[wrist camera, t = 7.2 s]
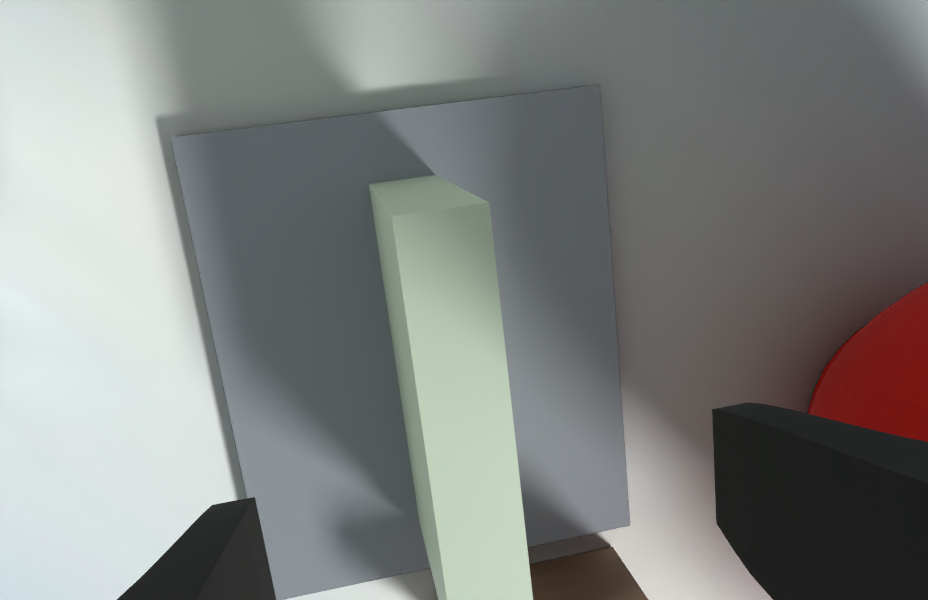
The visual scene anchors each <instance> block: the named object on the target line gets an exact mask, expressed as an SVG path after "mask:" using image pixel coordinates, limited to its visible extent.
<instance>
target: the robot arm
mask: <svg viewBox="0 0 928 600" xmlns="http://www.w3.org/2000/svg"><path fill="white" fill-rule="evenodd" d="M712 415H713V442H714V468H715V495H716V521H717V525H718V526H719V528H720V529H721V531H722V533H723V534H724V536H725V537H726V539H727V540H728V542H729V543H730V545H731V546H732V548H733V550H734V551H735V552H736V554H737V555H738V557H739V558H740V560H741V561H742V562H743V564H744V565H745V567H746V568H747V570H748V571H749V572H750V574H751V575H752V576H753V577H754V578H755V580H756V581H757V582H758V583H759V584H760V585H761V586H762V588H763V589H764V590H765V591H766V592H767V593H768V594H769V595H770V596H771V598H772V599H773V600H928V442H926V441H921V440H916V439H911V438H907V437H902V436H898V435H894V434H889V433H885V432H881V431H876V430H872V429H868V428H864V427H860V426H856V425H852V424H848V423H844V422H840V421H836V420H832V419H827V418H823V417H819V416H815V415H811V414H807V413H803V412H799V411H794V410H790V409H785V408H781V407H776V406H770V405H764V404H756V403H743V404H738V405H733V406H728V407H723V408H717V409H712ZM117 600H276V596H275V591H274V586H273V581H272V576H271V572H270V567H269V562H268V557H267V553H266V548H265V543H264V538H263V533H262V529H261V524H260V519H259V514H258V510H257V505H256V500H255V497H252V498H247V499H242V500H237V501H231V502H226V503H221V504H216V505H212V506H211V507H210V508H209V509H207V510H206V511H205V512H204V513H203V514H202V515H201V516H200V517H199V518H198V519H197V520H196V521H195V522H194V523H193V524H192V525H191V526H190V527H189V529H188V530H187V531H186V532H185V533H184V534H183V535H182V536H181V537H180V538H179V539H178V540H177V541H176V542H175V543H174V544H173V545H172V546H171V547H170V548H169V549H168V550H167V551H166V552H165V553H164V555H163V556H162V557H161V558H160V559H159V560H158V561H157V562H156V563H155V564H154V565H153V566H152V567H151V568H150V569H149V570H148V571H147V572H146V573H145V574H144V575H143V576H142V577H141V578H140V579H139V580H138V581H137V582H136V583H134V584H133V585H132V586H131V587H130V588H129V589H128V590H127V591H126V592H125V593H124V594H123V595H122V596H120V597H119V598H118V599H117Z"/></svg>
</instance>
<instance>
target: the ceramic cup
mask: <svg viewBox="0 0 928 600" xmlns="http://www.w3.org/2000/svg"><path fill="white" fill-rule="evenodd" d="M808 414H811V415H815V416H819V417H823V418H827V419H832V420H836V421H840V422H844V423H848V424H852V425H856V426H860V427H864V428H868V429H872V430H876V431H881V432H885V433H889V434H894V435H898V436H902V437H907V438H911V439H916V440H921V441H926V442H928V283H926V284H924V285H922V286H920V287H918V288H917V289H915V290H913V291H911V292H910V293H908V294H907V295H905V296H904V297H902V298H901V299H900V300H898V301H897V302H895V303H894V304H892V305H891V306H889V307H888V308H887V309H885V310H884V311H882V312H881V313H879V314H878V315H877V316H875V317H874V318H873V319H872V320H871V321H870V322H869V323H868V324H867V325H866V326H865V327H863V328H862V329H860V330H859V331H857V332H856V333H855V334H854V335H853V336H852V337H851V338H850V339H849V340H848V341H847V342H846V343H845V344H843V345H842V346H841V347H840V348H839V350H838V351H837V352H836V354H835V355H834V356H833V358H832V359H831V360H830V362H829V363H828V364H827V366H826V367H825V369H824V371H823V373H822V375H821V377H820V379H819V381H818V383H817V385H816V387H815V390H814V393H813V396H812V399H811V402H810V406H809V410H808Z"/></svg>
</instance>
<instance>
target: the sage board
mask: <svg viewBox="0 0 928 600" xmlns="http://www.w3.org/2000/svg"><path fill="white" fill-rule="evenodd" d="M369 190H370V197H371V203H372V210H373V217H374V223H375V230H376V236H377V243H378V250H379V256H380V263H381V270H382V276H383V283H384V290H385V296H386V303H387V310H388V316H389V323H390V330H391V336H392V343H393V349H394V356H395V363H396V369H397V376H398V383H399V389H400V396H401V403H402V409H403V416H404V423H405V429H406V436H407V443H408V449H409V456H410V463H411V469H412V476H413V482H414V489H415V496H416V502H417V509H418V516H419V522H420V527H421V531H422V535H423V539H424V543H425V547H426V551H427V555H428V560H429V564H430V568H431V572H432V576H433V580H434V584H435V588H436V592H437V596H438V600H533V594H532V585H531V576H530V567H529V558H528V549H527V539H526V530H525V521H524V512H523V503H522V494H521V485H520V476H519V467H518V458H517V449H516V440H515V431H514V422H513V413H512V404H511V395H510V386H509V377H508V367H507V358H506V349H505V340H504V331H503V322H502V313H501V304H500V295H499V286H498V277H497V268H496V259H495V250H494V241H493V232H492V223H491V214H490V205H489V202H487V201H485V200H483V199H482V198H480V197H478V196H476V195H474V194H472V193H470V192H468V191H466V190H464V189H462V188H460V187H458V186H456V185H454V184H452V183H450V182H448V181H446V180H444V179H442V178H440V177H438V176H437V175H432V176H425V177H417V178H410V179H403V180H396V181H388V182H381V183H374V184H369Z"/></svg>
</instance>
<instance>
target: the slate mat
mask: <svg viewBox="0 0 928 600" xmlns="http://www.w3.org/2000/svg"><path fill="white" fill-rule="evenodd" d="M170 138H171V142H172V147H173V152H174V157H175V161H176V166H177V171H178V175H179V180H180V185H181V189H182V194H183V199H184V204H185V208H186V213H187V218H188V222H189V227H190V232H191V236H192V241H193V246H194V251H195V255H196V260H197V265H198V269H199V274H200V279H201V284H202V288H203V293H204V298H205V302H206V307H207V312H208V316H209V321H210V326H211V331H212V335H213V340H214V345H215V349H216V354H217V359H218V363H219V368H220V373H221V378H222V382H223V387H224V392H225V396H226V401H227V406H228V410H229V415H230V420H231V425H232V429H233V434H234V439H235V443H236V448H237V453H238V457H239V462H240V467H241V472H242V476H243V481H244V486H245V490H246V495H247V498H252V497H255V500H256V505H257V510H258V514H259V519H260V524H261V529H262V533H263V538H264V543H265V548H266V553H267V557H268V562H269V567H270V572H271V576H272V581H273V586H274V591H275V596H276V600H283V599H288V598H293V597H297V596H302V595H307V594H311V593H316V592H321V591H325V590H330V589H335V588H340V587H344V586H349V585H354V584H358V583H363V582H368V581H372V580H377V579H382V578H386V577H391V576H396V575H400V574H405V573H410V572H414V571H419V570H424V569H428V568H430V564H429V560H428V555H427V551H426V547H425V543H424V539H423V535H422V531H421V527H420V522H419V516H418V509H417V502H416V496H415V489H414V482H413V476H412V469H411V463H410V456H409V449H408V443H407V436H406V429H405V423H404V416H403V409H402V403H401V396H400V389H399V383H398V376H397V369H396V363H395V356H394V349H393V343H392V336H391V330H390V323H389V316H388V310H387V303H386V296H385V290H384V283H383V276H382V270H381V263H380V256H379V250H378V243H377V236H376V230H375V223H374V217H373V210H372V203H371V197H370V190H369V184H374V183H381V182H388V181H396V180H403V179H410V178H417V177H425V176H432V175H437V176H438V177H440V178H442V179H444V180H446V181H448V182H450V183H452V184H454V185H456V186H458V187H460V188H462V189H464V190H466V191H468V192H470V193H472V194H474V195H476V196H478V197H480V198H482V199H483V200H485V201H487V202H489V205H490V214H491V223H492V232H493V241H494V250H495V259H496V268H497V277H498V286H499V295H500V304H501V313H502V322H503V331H504V340H505V349H506V358H507V367H508V377H509V386H510V395H511V404H512V413H513V422H514V431H515V440H516V449H517V458H518V467H519V476H520V485H521V494H522V503H523V512H524V521H525V530H526V539H527V547H531V546H536V545H541V544H545V543H550V542H555V541H560V540H564V539H569V538H574V537H578V536H583V535H588V534H592V533H597V532H602V531H606V530H611V529H616V528H620V527H625V526H630V515H629V501H628V486H627V472H626V457H625V443H624V428H623V414H622V400H621V385H620V371H619V356H618V342H617V327H616V313H615V299H614V284H613V270H612V255H611V241H610V226H609V212H608V198H607V183H606V169H605V154H604V140H603V125H602V111H601V97H600V85H592V86H584V87H575V88H567V89H559V90H551V91H543V92H535V93H526V94H518V95H510V96H502V97H494V98H486V99H478V100H469V101H461V102H453V103H445V104H437V105H429V106H420V107H412V108H404V109H396V110H388V111H380V112H371V113H363V114H355V115H347V116H339V117H331V118H322V119H314V120H306V121H298V122H290V123H282V124H274V125H265V126H257V127H249V128H241V129H233V130H225V131H216V132H208V133H200V134H192V135H184V136H176V137H170Z"/></svg>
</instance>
